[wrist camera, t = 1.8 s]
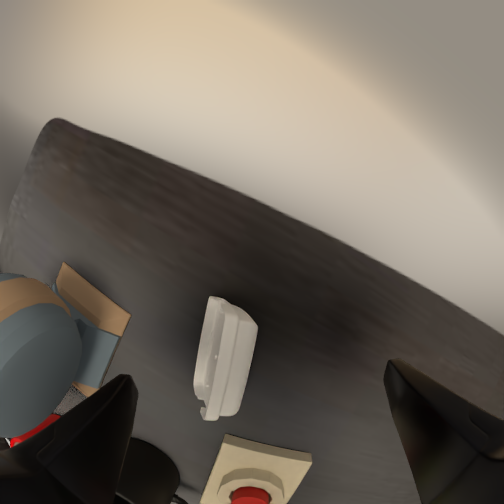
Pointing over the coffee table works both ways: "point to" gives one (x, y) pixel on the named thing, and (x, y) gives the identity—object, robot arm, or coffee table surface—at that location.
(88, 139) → the coffee table surface
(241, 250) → the coffee table surface
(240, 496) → the button
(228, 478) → the button block
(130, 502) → the mug
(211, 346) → the soap
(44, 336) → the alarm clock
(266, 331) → the coffee table surface
